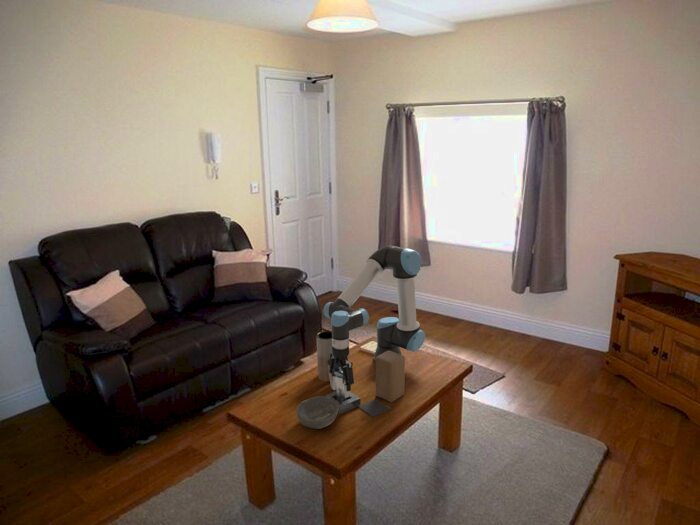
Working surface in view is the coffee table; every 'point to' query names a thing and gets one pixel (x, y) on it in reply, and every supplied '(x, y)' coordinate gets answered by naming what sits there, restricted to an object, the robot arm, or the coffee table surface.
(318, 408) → the bowl
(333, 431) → the coffee table surface
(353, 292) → the robot arm
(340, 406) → the frame
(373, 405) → the mat
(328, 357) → the planter
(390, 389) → the wooden block
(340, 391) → the silver domed cylinder
